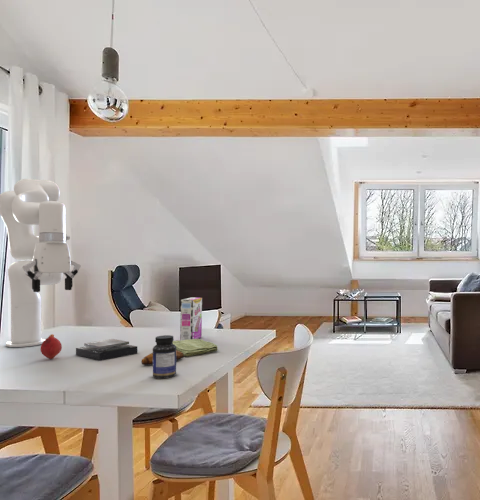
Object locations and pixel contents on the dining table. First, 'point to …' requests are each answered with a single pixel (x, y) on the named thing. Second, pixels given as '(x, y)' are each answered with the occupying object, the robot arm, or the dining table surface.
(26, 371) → the dining table surface
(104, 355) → the scale
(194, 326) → the candy bar box
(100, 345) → the scale pan
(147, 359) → the croissant
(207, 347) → the washcloth
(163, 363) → the pill bottle
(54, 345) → the onion
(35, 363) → the dining table surface
